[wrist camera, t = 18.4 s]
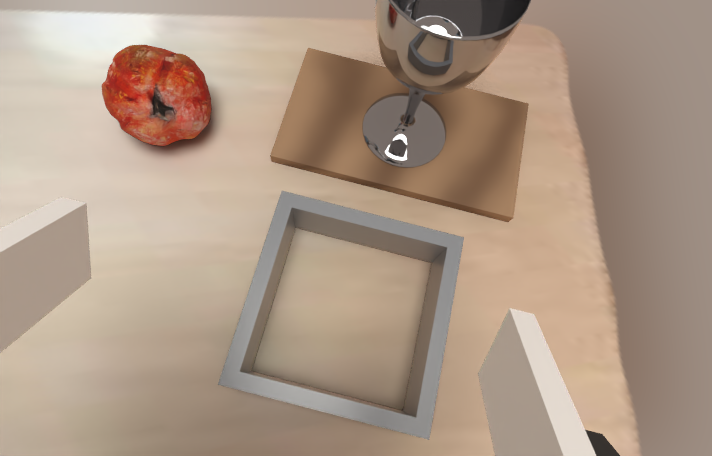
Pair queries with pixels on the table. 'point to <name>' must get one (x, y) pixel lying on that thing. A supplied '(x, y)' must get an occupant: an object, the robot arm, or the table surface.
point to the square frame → (374, 234)
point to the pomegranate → (157, 95)
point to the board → (427, 182)
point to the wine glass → (431, 67)
